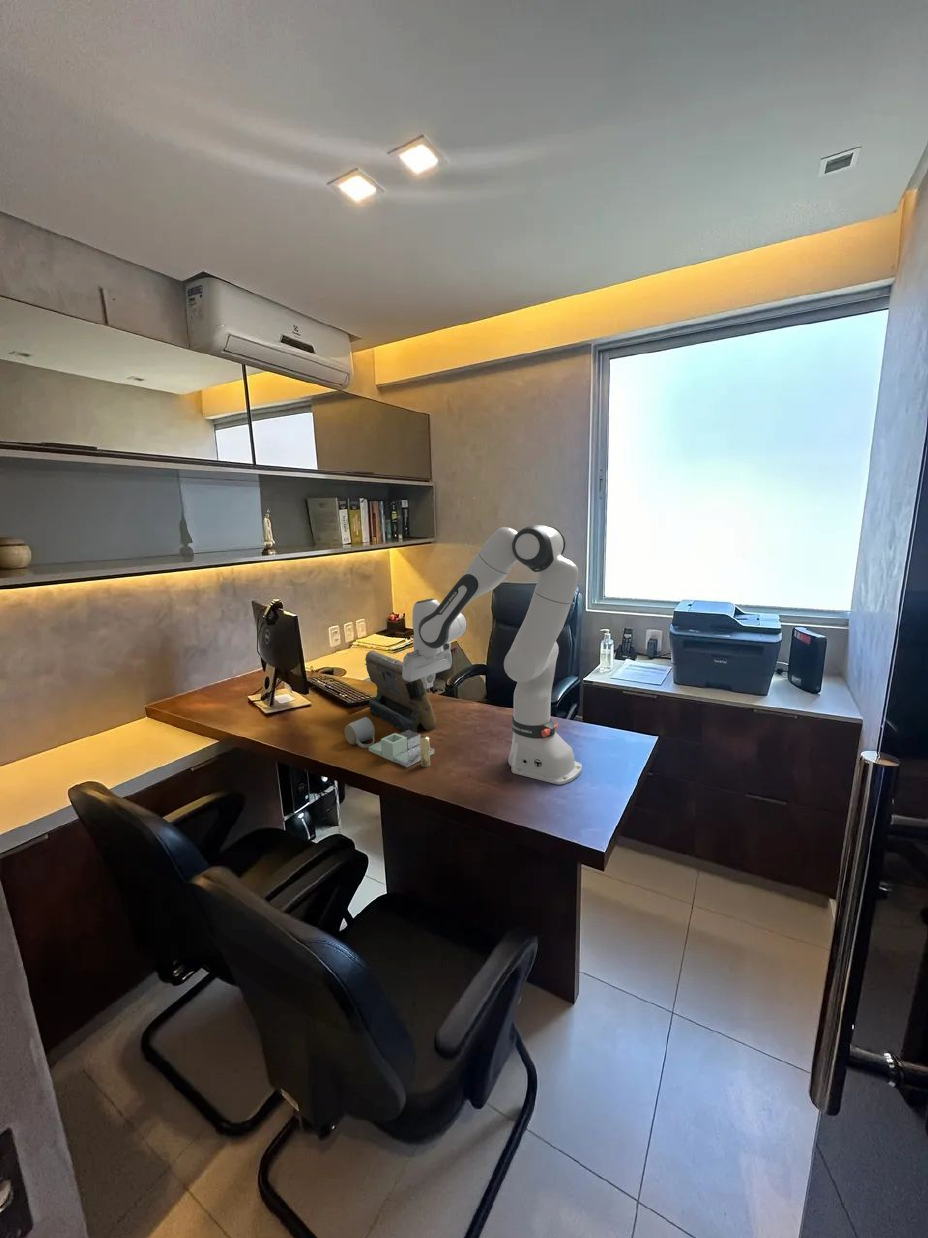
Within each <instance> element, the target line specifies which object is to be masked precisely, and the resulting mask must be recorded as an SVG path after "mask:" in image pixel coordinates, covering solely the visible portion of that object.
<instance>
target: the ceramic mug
mask: <svg viewBox="0 0 928 1238" xmlns="http://www.w3.org/2000/svg"><path fill="white" fill-rule="evenodd" d="M343 731H344V732H343V733H344V737H345V739H346V741H347V743H348V744H350V745H352V746H354V745H358V746H359V747H360V748H363V749H369V746H371V745H373V744H375V741H376V740H375V735H376V730H375V726H374V724H373V722H372V721H371V719H370V718H369V717H367V716H365V717H362V718H360V719H357V720H355V721H352V722H349V723H348V724H347V725H346V726H344V730H343ZM370 740H372V742H371V743H368V744H365V743H364V744H363V742H366V741H370Z"/></svg>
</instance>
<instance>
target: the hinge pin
mask: <svg viewBox="0 0 928 1238" xmlns="http://www.w3.org/2000/svg"><path fill="white" fill-rule="evenodd" d="M430 747H431V745H430V736H429V735H421V737H420V749H421V761H420V767H422V768H428V767H430V766H431V755H430Z"/></svg>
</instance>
